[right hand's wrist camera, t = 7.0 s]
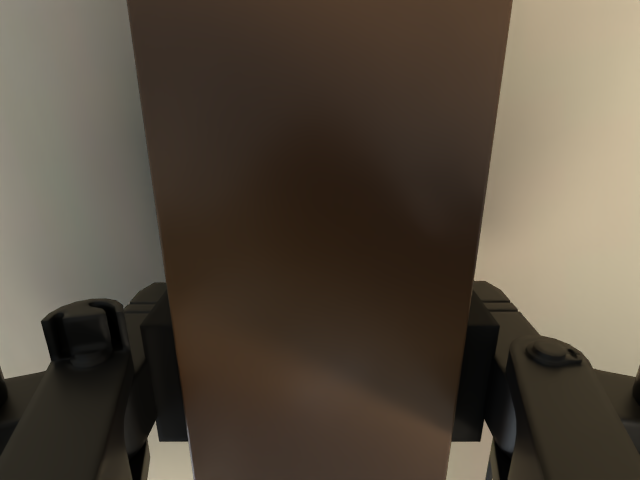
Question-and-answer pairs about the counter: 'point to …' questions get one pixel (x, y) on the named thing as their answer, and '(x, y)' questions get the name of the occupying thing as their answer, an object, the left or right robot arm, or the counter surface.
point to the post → (319, 223)
